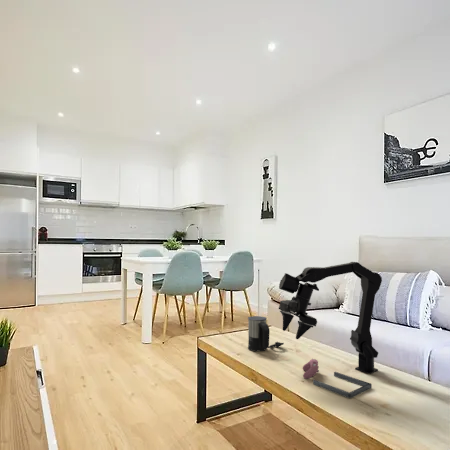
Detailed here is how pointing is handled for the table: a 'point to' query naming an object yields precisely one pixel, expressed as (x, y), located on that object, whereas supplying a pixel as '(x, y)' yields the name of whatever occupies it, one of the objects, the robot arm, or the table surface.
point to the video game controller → (310, 368)
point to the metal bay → (351, 394)
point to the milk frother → (259, 334)
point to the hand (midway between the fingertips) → (290, 334)
